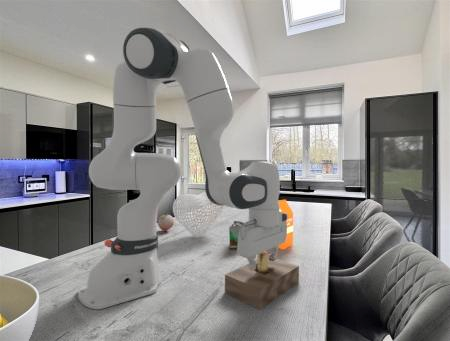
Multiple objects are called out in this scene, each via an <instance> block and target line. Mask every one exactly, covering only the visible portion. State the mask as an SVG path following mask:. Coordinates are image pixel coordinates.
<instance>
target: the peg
mask: <svg viewBox="0 0 450 341" xmlns="http://www.w3.org/2000/svg"><path fill="white" fill-rule="evenodd" d="M268 257H269V252H267V251H264V252H262V253H260V254H257V259H256V260H257V263H258V269H257V272H259V273H262V274H265V275H266V274H268Z"/></svg>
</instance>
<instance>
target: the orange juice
mask: <svg viewBox="0 0 450 341" xmlns="http://www.w3.org/2000/svg"><path fill="white" fill-rule="evenodd" d="M278 203H279V207H280V209H279V210H280V211H281V212H284V213H286V214H288V220H287V221H286V222H287V238H286V241H285V243H283V244H281V245H279V249H281V250H284V249H285V250H286V248H289V247H291V246H293V245H294V212H293V210H292V208H291V207H290V205H289V203H288V202H287V199H281V200H278Z"/></svg>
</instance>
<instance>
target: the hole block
mask: <svg viewBox="0 0 450 341" xmlns="http://www.w3.org/2000/svg"><path fill="white" fill-rule="evenodd" d="M257 260H258V259H255V262H256V263H257ZM299 278H300V266H299V265H297V264H294V263H290V262H286V261H284V260H281V259H278V258H276V260H274V261H270V260H269V256H268V274H266V275H265V274H262V273H259V272H257V269H256V270H254V271H253V270H250V263H249V262H248V263H247V264H245V265H243V266H240V267H239V268H236V269H235V270H232V271H230V272H228V273H226V274H224V294H227V295H230V296H231V297H234V298H236V299H237V300H239V301H242V302H243V303H245V304H248V305H250V306H252V307H255V308H256V309H258V310H262V309H264V307H265V308H266V306H267V305H269V304H271V303H272V302H273V301H274V300H276V299H278V298H279V297H280V296H282V295H283V294H284V293H286V292H287V291H288V290H290V289H292V288H293V287H294V286H295V285H297V284H299V282H300V279H299Z"/></svg>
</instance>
